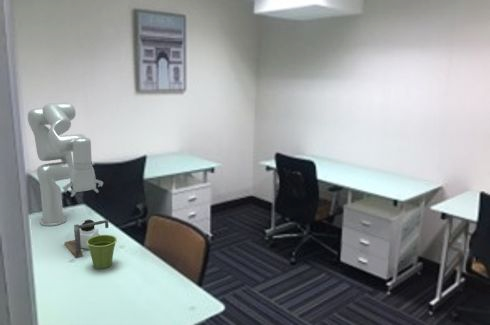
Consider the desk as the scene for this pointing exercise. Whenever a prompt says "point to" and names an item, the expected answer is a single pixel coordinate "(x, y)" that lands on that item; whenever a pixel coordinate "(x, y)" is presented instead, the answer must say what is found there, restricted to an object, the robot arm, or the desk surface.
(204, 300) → the desk surface
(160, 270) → the desk surface
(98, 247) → the plant pot
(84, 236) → the medicine bottle
